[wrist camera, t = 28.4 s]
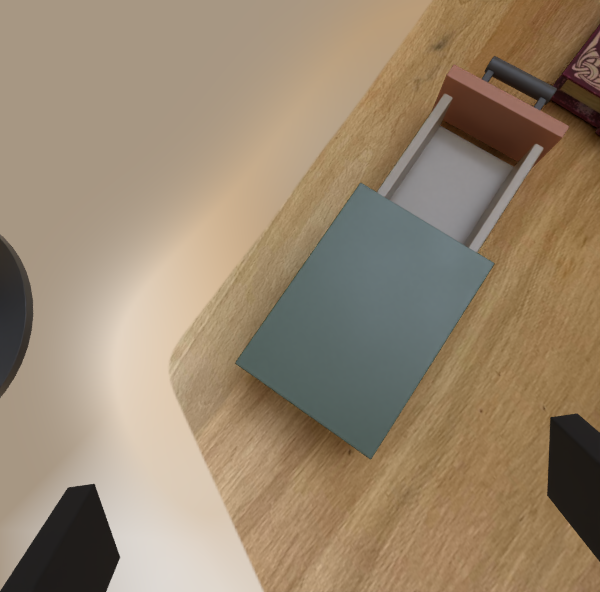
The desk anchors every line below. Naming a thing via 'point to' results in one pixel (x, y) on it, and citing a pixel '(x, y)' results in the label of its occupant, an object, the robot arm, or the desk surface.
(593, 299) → the desk surface
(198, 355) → the desk surface
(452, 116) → the drawer
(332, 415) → the cabinet
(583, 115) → the book
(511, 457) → the desk surface
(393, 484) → the desk surface
